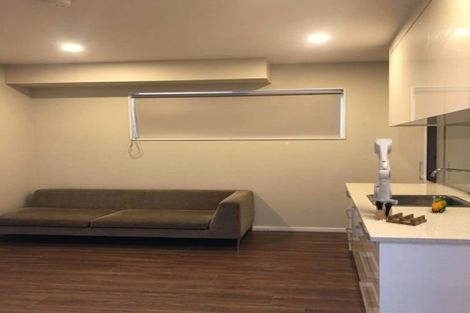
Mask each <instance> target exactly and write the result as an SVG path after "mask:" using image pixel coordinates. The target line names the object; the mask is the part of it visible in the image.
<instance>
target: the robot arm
mask: <svg viewBox="0 0 470 313" xmlns="http://www.w3.org/2000/svg"><path fill="white" fill-rule="evenodd" d="M373 148H374V149H373V150H374V154H376V155H377V158H378V171H377V178H378V180H377V182H376V183H374V185H373V197H371V198H370V202H373V203H374V202H375V212H372V213H373V214H375V213H376V211H377V210H381V209H384V208H385V209H386V216H389V212H390V209H391V208H392V207H393V206H394V205H398V202H399V200H397V199H392V198H393V197H392V196H393V188H392V187H393V186H392V184H391V182H390V180H391V178H392V172H391V167H390V160H389V159H388V155H389V154H391V152H392V150H393V139H392V138H374V140H373ZM392 209H393V208H392ZM392 214H394V212H393V211H392Z"/></svg>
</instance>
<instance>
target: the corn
mask: <svg viewBox="0 0 470 313" xmlns="http://www.w3.org/2000/svg"><path fill="white" fill-rule="evenodd" d="M446 208H447V202H446V200H445V199H443V198H436V199H434V201H433V203H432V204H431V211H433V212H439V213H442V212H444V211H445V210H446Z"/></svg>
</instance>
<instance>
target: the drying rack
mask: <svg viewBox="0 0 470 313" xmlns="http://www.w3.org/2000/svg"><path fill="white" fill-rule="evenodd" d="M403 214H404V213H403V212H398V213H397V212H396V213H395V214H394V213H393V214H392V215H391V216H388V218H387V219H385V222H386V223H389V222H390V223H391V224H396V225H397V224H398V225H404V226H405V225H406V226H410V227H412V226H413V227H416V226H419V225H421V224H424V223H427V222H428V219H427V218H426V215H425V214H422V215H419V216H417V217H415V216H414V213H410V214H409V213H408V214H407V215H403ZM390 223H389V224H390Z"/></svg>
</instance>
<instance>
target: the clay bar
mask: <svg viewBox="0 0 470 313" xmlns="http://www.w3.org/2000/svg"><path fill="white" fill-rule="evenodd" d="M375 212H376V213H375V215H374V216H375V221H380V220H381V221H384V220H387V219H388V216H386V209H385V208H384V209H381V210H377V211H376V210H375ZM392 212H393V208H391V209H390V212H389V216H391V215H393V213H392ZM386 218H387V219H386ZM383 219H384V220H383Z"/></svg>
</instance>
